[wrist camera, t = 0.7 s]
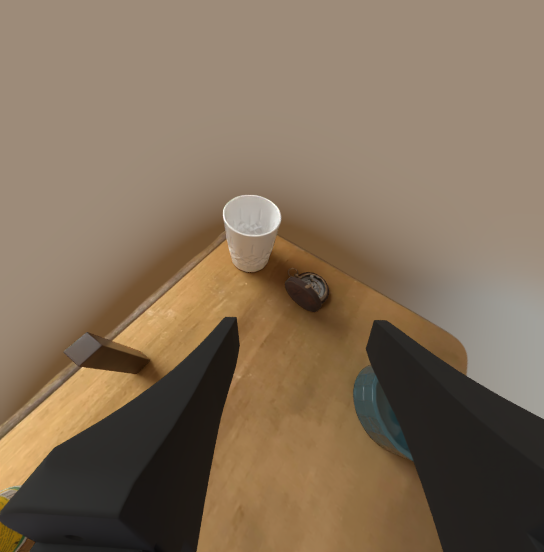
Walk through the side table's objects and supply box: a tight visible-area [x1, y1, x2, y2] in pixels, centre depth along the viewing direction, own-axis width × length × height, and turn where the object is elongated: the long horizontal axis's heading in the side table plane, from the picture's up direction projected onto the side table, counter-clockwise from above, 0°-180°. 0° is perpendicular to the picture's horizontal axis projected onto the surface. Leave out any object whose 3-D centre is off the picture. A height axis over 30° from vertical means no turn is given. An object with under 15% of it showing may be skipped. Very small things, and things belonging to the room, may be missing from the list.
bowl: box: [353, 365, 413, 461], centre depth 24 cm, size 10×10×4 cm
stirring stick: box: [64, 332, 150, 374], centre depth 20 cm, size 2×2×10 cm
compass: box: [285, 268, 329, 312], centre depth 30 cm, size 8×8×7 cm
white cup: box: [223, 195, 281, 272], centre depth 31 cm, size 8×8×10 cm
